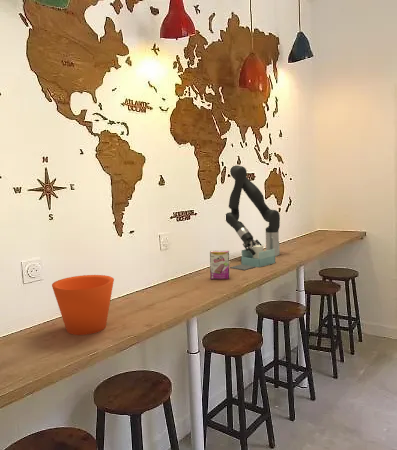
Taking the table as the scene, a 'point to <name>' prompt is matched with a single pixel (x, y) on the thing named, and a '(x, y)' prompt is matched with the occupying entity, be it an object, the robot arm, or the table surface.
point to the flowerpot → (84, 302)
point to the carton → (263, 260)
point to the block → (257, 251)
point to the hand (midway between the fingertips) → (258, 253)
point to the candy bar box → (219, 264)
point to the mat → (243, 267)
